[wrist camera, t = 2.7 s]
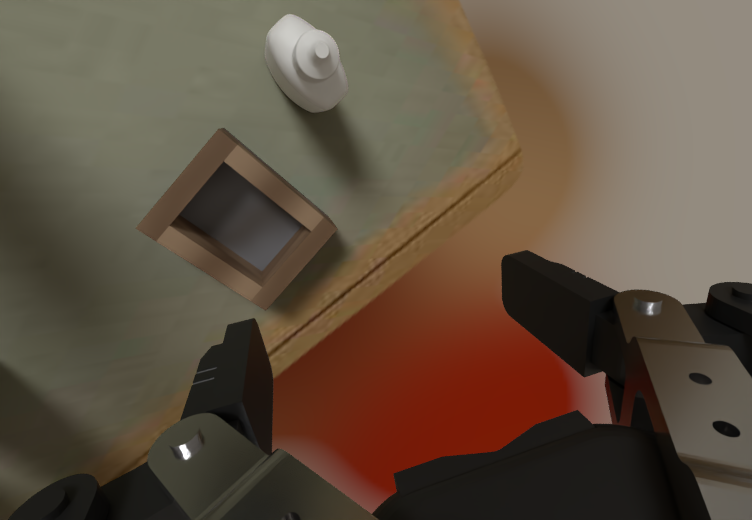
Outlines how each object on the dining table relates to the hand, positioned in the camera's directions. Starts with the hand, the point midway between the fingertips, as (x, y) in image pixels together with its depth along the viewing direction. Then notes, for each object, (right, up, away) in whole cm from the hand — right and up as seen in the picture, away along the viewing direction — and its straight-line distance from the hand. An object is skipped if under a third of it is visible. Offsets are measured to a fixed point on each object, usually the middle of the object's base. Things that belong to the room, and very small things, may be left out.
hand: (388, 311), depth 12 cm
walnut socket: (-12, +5, +20) cm, 24 cm away
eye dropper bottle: (-7, +16, +18) cm, 25 cm away
